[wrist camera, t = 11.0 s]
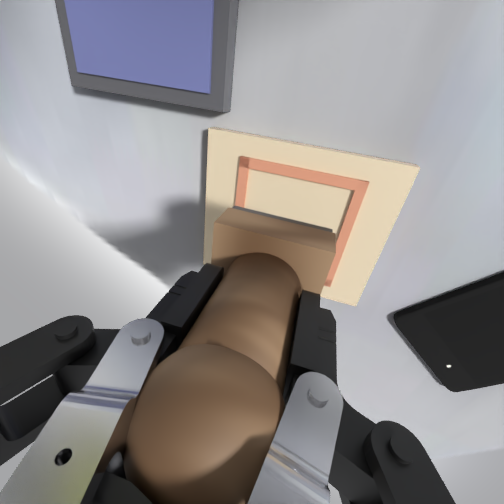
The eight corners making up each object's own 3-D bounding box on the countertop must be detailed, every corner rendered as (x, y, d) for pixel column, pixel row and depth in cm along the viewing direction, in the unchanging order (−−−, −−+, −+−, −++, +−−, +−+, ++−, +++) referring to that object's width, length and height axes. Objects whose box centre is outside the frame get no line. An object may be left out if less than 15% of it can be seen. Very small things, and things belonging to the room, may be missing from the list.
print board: (416, 164, 14) (421, 168, 14) (355, 299, 20) (355, 308, 19) (213, 126, 16) (207, 128, 16) (207, 259, 22) (201, 265, 21)
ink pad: (246, -94, 11) (235, -116, 10) (230, 111, 16) (221, 112, 15) (54, -102, 13) (27, -122, 12) (87, 86, 17) (69, 85, 16)
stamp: (335, 227, 12) (340, 557, 3) (307, 307, 15) (270, 605, 6) (232, 203, 13) (19, 420, 4) (223, 282, 15) (83, 517, 7)
